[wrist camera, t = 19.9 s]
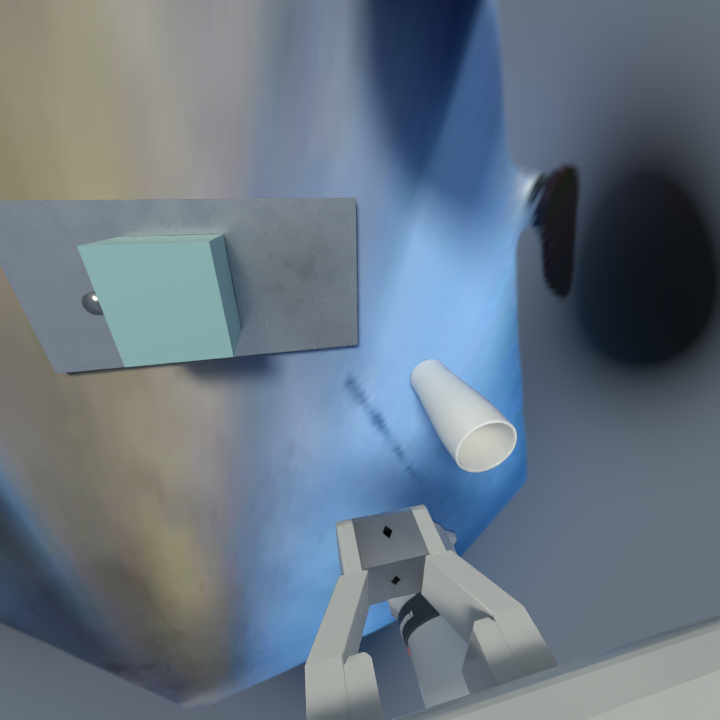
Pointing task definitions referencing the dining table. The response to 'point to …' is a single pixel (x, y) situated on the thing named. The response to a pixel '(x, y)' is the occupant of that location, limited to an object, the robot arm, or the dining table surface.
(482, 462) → the drinking glass
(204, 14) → the dining table surface
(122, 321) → the cover
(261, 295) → the base
